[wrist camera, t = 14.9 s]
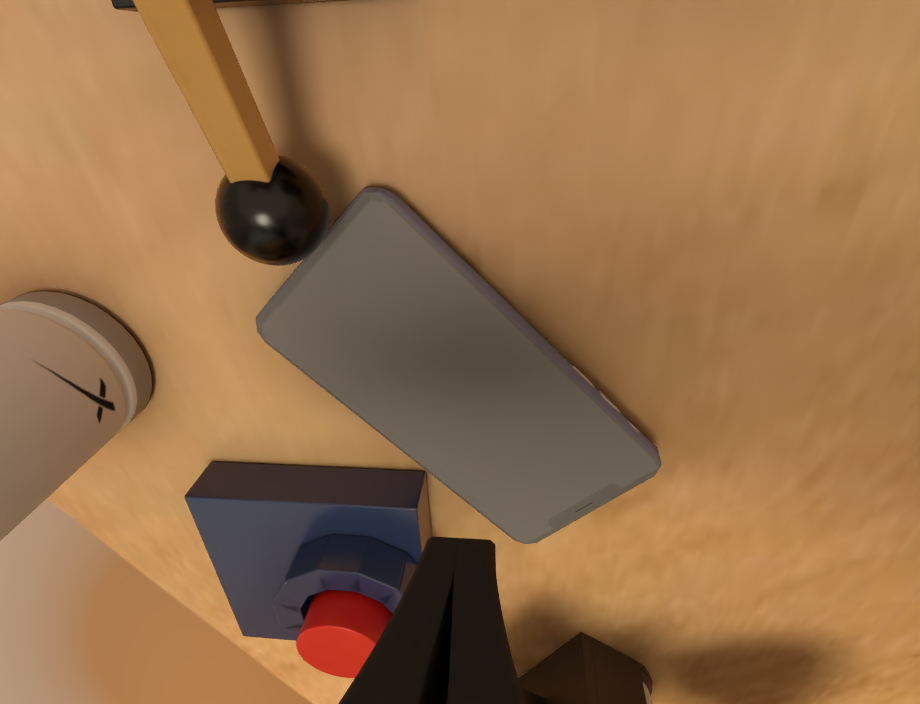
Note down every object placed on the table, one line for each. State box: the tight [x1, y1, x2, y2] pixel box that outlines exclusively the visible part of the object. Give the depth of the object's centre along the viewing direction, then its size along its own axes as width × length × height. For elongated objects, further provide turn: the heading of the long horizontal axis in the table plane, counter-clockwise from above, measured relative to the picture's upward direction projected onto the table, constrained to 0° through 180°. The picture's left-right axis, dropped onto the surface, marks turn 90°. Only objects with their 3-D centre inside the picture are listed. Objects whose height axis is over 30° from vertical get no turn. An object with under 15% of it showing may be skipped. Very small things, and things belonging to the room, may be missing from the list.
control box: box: [185, 462, 432, 641], centre depth 23 cm, size 10×10×4 cm
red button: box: [296, 590, 392, 678], centre depth 21 cm, size 4×4×2 cm
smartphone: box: [256, 187, 661, 544], centre depth 19 cm, size 8×1×15 cm
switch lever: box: [133, 0, 330, 266], centre depth 10 cm, size 13×3×3 cm, turn 2°
